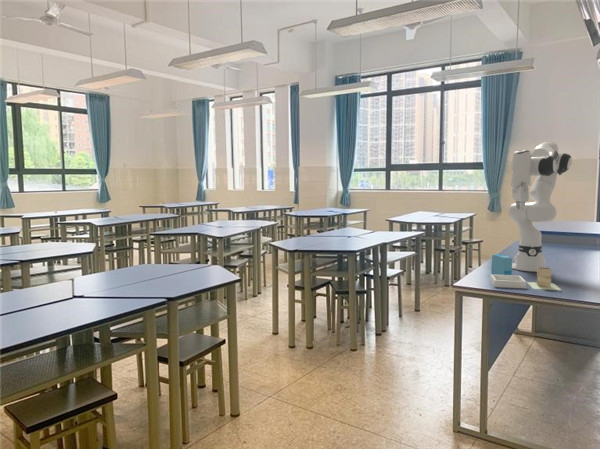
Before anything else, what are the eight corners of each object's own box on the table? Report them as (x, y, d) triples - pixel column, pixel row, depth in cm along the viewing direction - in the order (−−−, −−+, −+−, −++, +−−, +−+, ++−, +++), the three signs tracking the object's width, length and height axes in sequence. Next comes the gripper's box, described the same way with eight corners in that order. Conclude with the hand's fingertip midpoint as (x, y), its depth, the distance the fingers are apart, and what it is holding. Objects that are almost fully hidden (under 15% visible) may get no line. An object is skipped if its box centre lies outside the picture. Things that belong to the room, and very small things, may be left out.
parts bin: (490, 282, 223) (490, 274, 223) (520, 283, 219) (520, 275, 219) (494, 288, 210) (494, 280, 209) (526, 290, 206) (526, 281, 205)
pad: (526, 283, 218) (526, 282, 218) (553, 284, 215) (553, 283, 215) (533, 290, 205) (533, 288, 205) (561, 291, 201) (561, 290, 201)
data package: (511, 280, 227) (512, 257, 226) (503, 280, 226) (504, 257, 225) (499, 275, 239) (499, 253, 237) (491, 275, 238) (491, 254, 237)
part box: (536, 284, 213) (537, 266, 212) (547, 284, 212) (548, 266, 211) (539, 286, 208) (539, 268, 207) (550, 287, 207) (551, 268, 206)
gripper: (532, 182, 209) (531, 210, 210) (523, 182, 229) (522, 208, 230) (518, 182, 211) (517, 210, 212) (510, 182, 230) (509, 208, 232)
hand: (520, 209), depth 221 cm, fingers open, 8 cm apart
